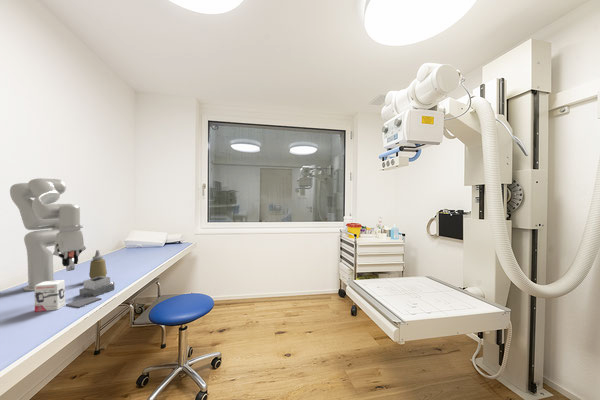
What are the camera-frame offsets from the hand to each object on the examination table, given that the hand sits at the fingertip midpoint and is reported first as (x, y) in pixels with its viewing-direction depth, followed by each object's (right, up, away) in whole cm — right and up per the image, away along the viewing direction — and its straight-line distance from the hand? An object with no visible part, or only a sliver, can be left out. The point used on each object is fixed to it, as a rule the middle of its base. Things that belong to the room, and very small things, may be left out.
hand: (70, 264), depth 119 cm
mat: (+15, -16, -8) cm, 23 cm away
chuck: (+11, -15, +5) cm, 20 cm away
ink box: (+5, -16, -14) cm, 22 cm away
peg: (0, -3, 0) cm, 3 cm away
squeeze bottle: (-4, -16, +21) cm, 27 cm away
